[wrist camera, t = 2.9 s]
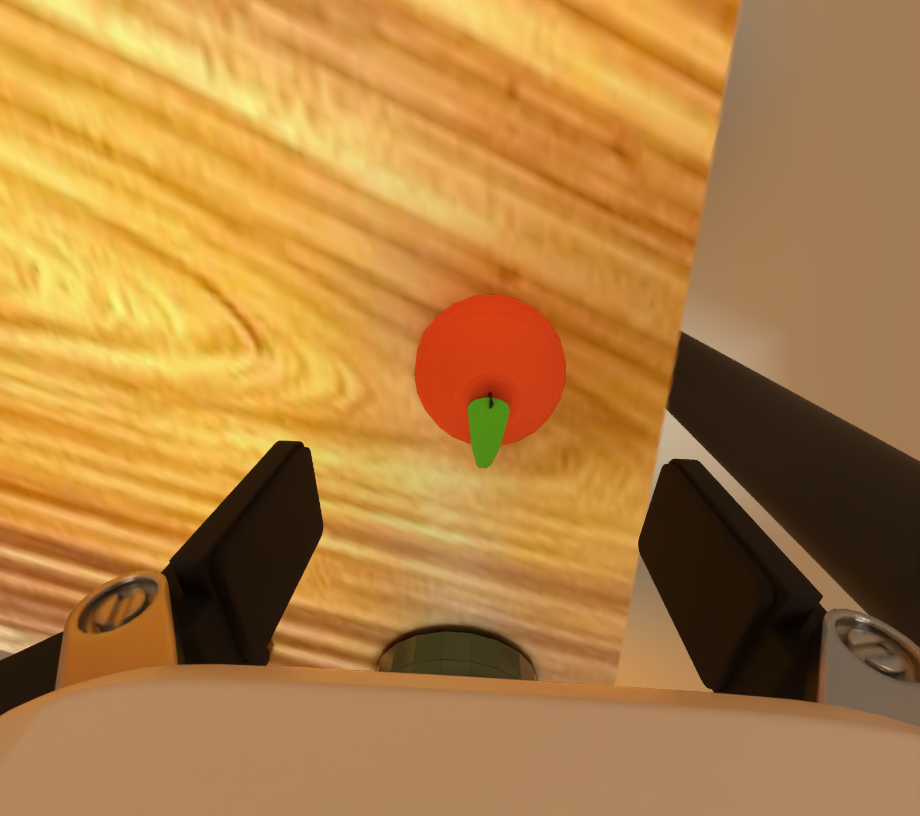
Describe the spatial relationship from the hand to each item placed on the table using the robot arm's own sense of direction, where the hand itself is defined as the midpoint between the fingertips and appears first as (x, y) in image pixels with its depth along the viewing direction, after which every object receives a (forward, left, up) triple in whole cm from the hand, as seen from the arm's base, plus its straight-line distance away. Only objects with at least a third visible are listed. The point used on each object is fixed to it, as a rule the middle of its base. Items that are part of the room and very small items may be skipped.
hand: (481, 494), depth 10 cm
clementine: (0, 0, -12) cm, 12 cm away
